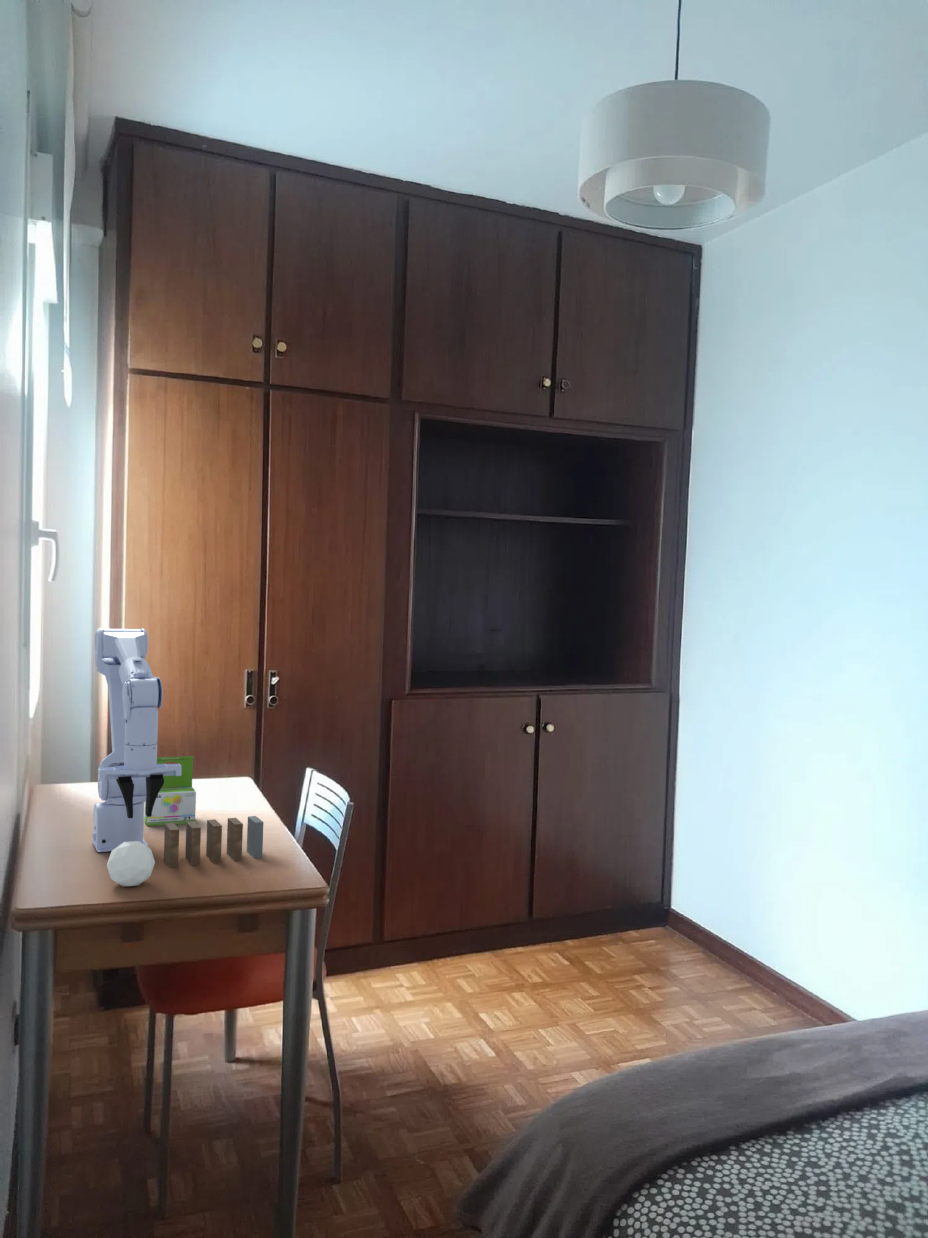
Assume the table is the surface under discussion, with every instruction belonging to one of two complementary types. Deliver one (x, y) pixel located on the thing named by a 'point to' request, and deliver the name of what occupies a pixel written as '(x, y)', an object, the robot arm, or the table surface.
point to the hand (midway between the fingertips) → (139, 816)
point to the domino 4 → (234, 839)
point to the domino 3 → (214, 840)
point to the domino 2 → (193, 842)
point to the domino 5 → (255, 837)
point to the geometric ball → (130, 863)
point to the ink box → (174, 796)
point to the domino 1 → (171, 845)
